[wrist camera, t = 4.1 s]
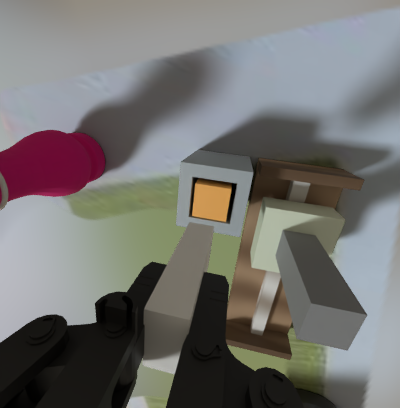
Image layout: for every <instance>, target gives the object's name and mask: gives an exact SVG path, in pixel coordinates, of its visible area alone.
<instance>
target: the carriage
mask: <svg viewBox="0 0 400 408" xmlns="http://www.w3.org/2000/svg"><path fill="white" fill-rule="evenodd" d="M345 221H346V220H345V219H344V218H343V217H342V216H341V215H340V214H339V213H338V212H337V211H336V210H335V209H334V208H332V207H326V206H319V205H313V204H307V203H300V202H294V201H288V200H281V199H275V198H268V197H263V200H262V204H261V208H260V213H259V217H258V221H257V225H256V230H255V234H254V238H253V242H252V247H251V251H250V254H251V267H252V268H256V269H261V270H266V271H271V272H276V273H280V276H281V280H282V283H283V287H284V291H285V295H286V299H287V303H288V307H289V311H290V315H291V318H292V322H293V326H294V330H295V334H296V338H297V339H300V340H304V341H308V342H313V343H317V344H321V345H326V346H330V347H334V348H339V349H343V350H347V351H348V349H349V347H350V345H351V343H352V342H353V340H354V338H355V336H356V334H357V333H358V331H359V329H360V327H361V325H362V324H363V322H364V320H365V318H366V317H367V314H366V312H365V311H364V309H363V308H362V306H361V305H360V303H359V302H358V300H357V299H356V297H355V295H354V294H353V292H352V291H351V289H350V288H349V286H348V285H347V283H346V282H345V280H344V278H343V277H342V275H341V274H340V272H339V271H338V269H337V268H336V266H335V265H334V263H333V262H332V260H331V258H330V257H331V255H332V253H333V250H334V248H335V245H336V243H337V240H338V238H339V236H340V233H341V231H342V228H343V226H344V223H345Z"/></svg>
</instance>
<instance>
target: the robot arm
mask: <svg viewBox="0 0 400 408" xmlns="http://www.w3.org/2000/svg"><path fill="white" fill-rule="evenodd" d="M213 231H214V226H209V225H203V224H198V223H192V222H189V224H188V226H187V228H186V230H185V232H184V233H183V236H182V237H181V240H180V241H179V243H178V245H177V247H176V249H175V251H174V253H173V254H172V257H171V258H170V261H169V262H168V264H167V265H165V264H160V263H156V262H151V263H150V264H148V265H147V266H145V267H144V268H143V269H142V271H141V272H140V274H139V275H138V277H137V278H136V279H135V281H134V283H133V284H132V285H131V287H130V288H129V290H128V291H127V293H126V292H114V293H109V294H107V295H105V296H103V297H101V298H100V299H99V300H98V301H97V302H96V303H95V309H96V320H97V322H96V323H92V324H84V325H70V326H67V321H66V320H65V319H64V318H63V317H62V316H59V315H46V316H42V317H39V318H37V319H35V320H33V321H31V322H30V323H28V324H26V325H25V326H23V327H22V328H21V329H19V330H18V331H16V332H15V333H14V334H12V335H11V336H9V337H8V338H6V339H5V340H4V341H2V342H1V343H0V408H126V406H127V404H128V402H129V399H130V397H131V394H132V392H133V389H134V387H135V384H136V379H137V370H138V368H139V365H140V363H141V360H142V358H143V366H146V367H149V368H153V369H157V370H160V371H164V372H168V373H171V374H175V376H174V379H173V383H172V387H171V390H170V394H169V398H168V402H167V406H166V408H336V407H335V406H334V404H332V403H331V402H330V401H328V400H327V399H325V398H324V397H322V396H320V395H317V394H315V393H312V392H308V391H304V390H298V389H295V387H294V385H293V383H292V382H291V381H290V380H289V379H288V378H287V377H286V376H285V375H284V374H282V373H280V372H279V371H277V370H275V369H271V368H267V367H265V368H261V369H257V370H256V371H254V370H252V369H251V368H249V367H248V366H246V365H244V364H243V363H241V362H240V361H239V360H237V359H236V358H235V357H234V355H233V354H232V353H231V352H230V350H229V348H228V346H227V343H226V335H225V334H226V320H227V306H228V291H229V284H228V282H227V279H226V277H225V276H222V275H217V274H212V273H207V268H208V263H209V257H210V251H211V244H212V238H213Z"/></svg>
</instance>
